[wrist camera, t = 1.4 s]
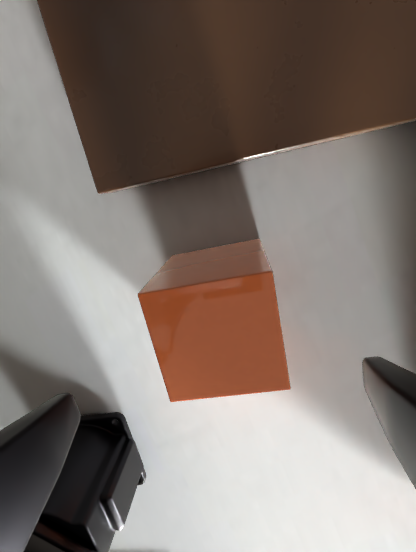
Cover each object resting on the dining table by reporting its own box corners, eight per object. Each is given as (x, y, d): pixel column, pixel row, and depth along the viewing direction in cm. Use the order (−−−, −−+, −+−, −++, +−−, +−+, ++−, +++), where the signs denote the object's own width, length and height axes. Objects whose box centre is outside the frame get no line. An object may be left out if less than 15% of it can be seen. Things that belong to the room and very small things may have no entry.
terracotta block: (191, 331, 18) (170, 402, 12) (172, 254, 16) (136, 294, 11) (273, 320, 17) (291, 390, 11) (259, 238, 15) (272, 270, 10)
